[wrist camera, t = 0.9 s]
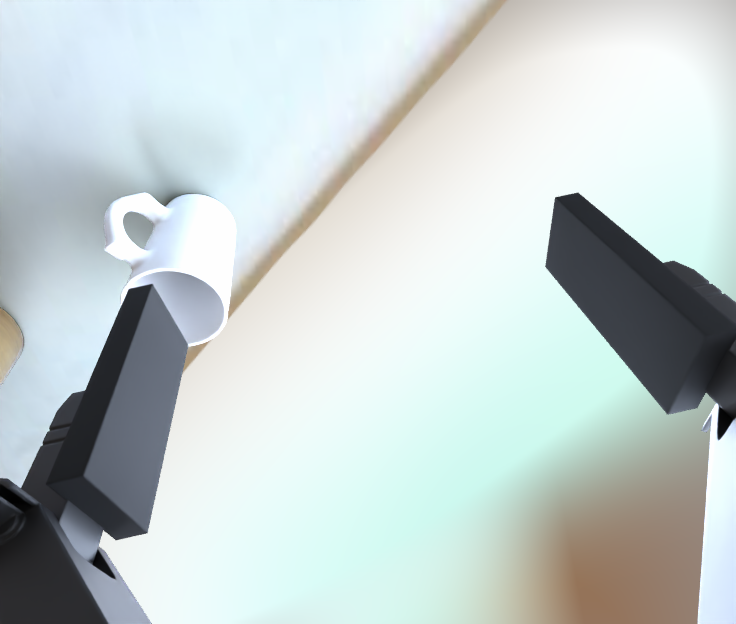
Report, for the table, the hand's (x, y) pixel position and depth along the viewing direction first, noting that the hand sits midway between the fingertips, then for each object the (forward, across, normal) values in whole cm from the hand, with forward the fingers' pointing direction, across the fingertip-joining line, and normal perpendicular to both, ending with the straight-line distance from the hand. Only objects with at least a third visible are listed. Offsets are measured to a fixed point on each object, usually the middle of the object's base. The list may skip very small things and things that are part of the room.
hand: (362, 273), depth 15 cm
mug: (+25, -13, -8) cm, 29 cm away
